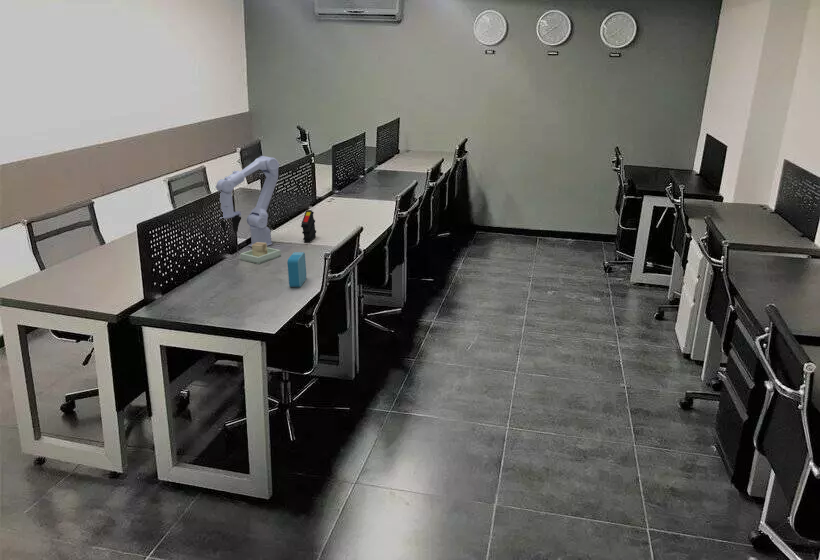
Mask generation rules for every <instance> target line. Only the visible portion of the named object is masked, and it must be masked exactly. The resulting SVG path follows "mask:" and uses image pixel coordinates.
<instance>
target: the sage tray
mask: <svg viewBox="0 0 820 560" xmlns="http://www.w3.org/2000/svg"><path fill="white" fill-rule="evenodd" d="M267 252H268V254H265V255H262V256H260V257H257V256H253V253H252V249H250V250H247V251H245V252H241V253H239V257H240V261H243V262H248V263H252V264H253V263H254V264H257V265H261V264H264V263H266V262H268V261H272V260H274V259H277V257H278V258H281V257H282V250H281V249H276V248H273V247H268V246H267Z"/></svg>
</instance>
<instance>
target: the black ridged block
mask: <svg viewBox="0 0 820 560" xmlns="http://www.w3.org/2000/svg"><path fill="white" fill-rule="evenodd" d="M314 213H315V212H314V211H313V210H311V209H310V210H309V209H306V210H305V213H304V215H303V217H302V221H301V225H300V228H302V235H303V238H302V240H303V242H304V243H307V244H310V243H312V241H313V240H314V239H316V234H317V230H316V225H315V223H316V219H315V218H314Z"/></svg>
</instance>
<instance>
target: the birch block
mask: <svg viewBox="0 0 820 560" xmlns="http://www.w3.org/2000/svg"><path fill="white" fill-rule="evenodd" d="M267 247H268V246H267V243H262V242H256V243H255V244H253V245H252V247H251V250H252V253H253V256H257V257H260V256H262V255H265V254H268V252H267Z"/></svg>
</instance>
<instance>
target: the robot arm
mask: <svg viewBox="0 0 820 560" xmlns="http://www.w3.org/2000/svg"><path fill="white" fill-rule="evenodd" d="M279 168H280V163H279V161H278V159H276V158H275V157H271V156H270V157H269V156H265V155H260V156H258V157H257V158H255V160H254V161H252V162H251V163H250V164H248V165H247V166H246V167H244V168H242V170H233V171H232V173H231V174H230V175H228V176H225V177H224V179H223V178H222V179H218V181H217V182H216V185H215V189H216V190H217V191H218V192H219V191H220V192H221V193H220V198H219V204H220V203H221V207H220V210H221V209H222V212H223V217H220V219H222V218H224V220H222V221H221V222H220V223H221V225H222V227H223V230H224V232H225V236H226V235H227V233H226V231H227V230H226V225H227V221H226V220H229V219H231V218H232V221H231V223H232V222H233V224H232V230H233V232H236V233H238V231H239V225H240V222H241V221H242V212H241V211H240V210H236V211H234V203H233V201H234V200H233V194H232V192H233V191H234V188H236V187H237V186H239V185H240V184H242V183H243V182H245V178H246V177H248V176H250V175H251V174H253V173H255V172H256V171H258V170H259V171H260V170H261V171H262V173H263V174H264V175H265V179H264V183H263V186H262V188H261V191H260V193H259V197H258V200H257V202H256V205H255V207H254V208H252V209H251V210H250V213H249V214H248V216H247V217H246V223H247V225H248V226H249V228H250V229H249V230H250V239H251V240H250V241H251V244H248V245H247V247H251V248H252V245H253V244H255V243H256V242H262V243H267V247H268V246H270V245H273V243H274V242H272V234H271V233H272V232H271V230H270V227H268V226H267V225H268V217H269V214H268V212H267V210H268V208H269V204H270V203H271V200H272V198H273V197H272V196H273V193H274V191H275V188H276V185H277V183H278V180H279ZM221 190H222V191H221Z"/></svg>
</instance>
